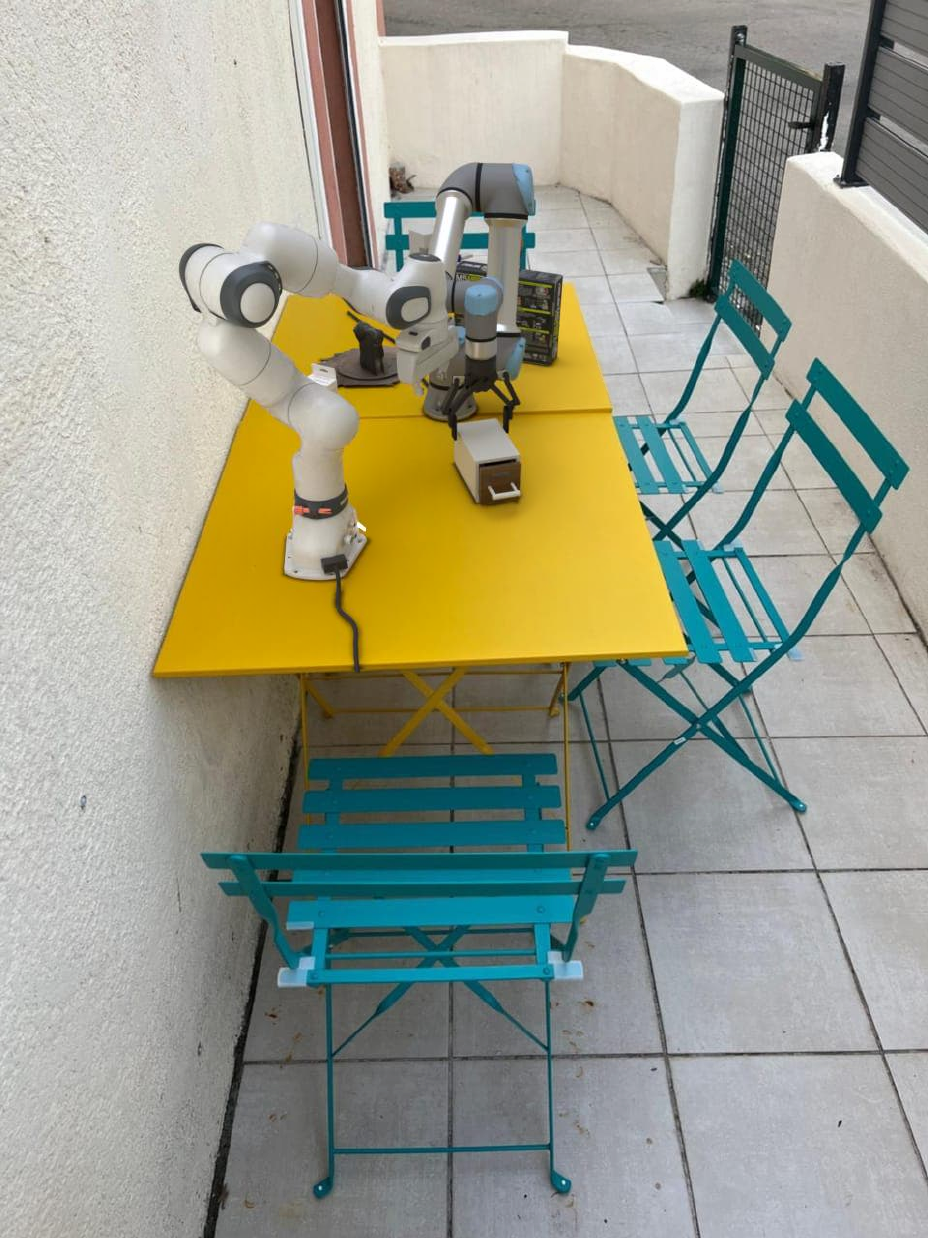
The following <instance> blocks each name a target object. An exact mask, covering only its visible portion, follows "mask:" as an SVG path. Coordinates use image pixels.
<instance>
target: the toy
mask: <svg viewBox="0 0 928 1238" xmlns="http://www.w3.org/2000/svg"><path fill="white" fill-rule="evenodd" d="M433 229H434V225H431V224H430V223H429V224H425V225H421V226H417V227H413V228H410V229H408V246H409V247H408V248H409V255H410V254H412V253H427V254H428V252H429V248H430V243H431V238H432V234H433ZM471 258H474V255H473V253H471V252H468V251H466V252H462V253H459V257H458V262H457V264H459V263H460V262H461V261H466V260H468V259H471ZM401 269H402V268H401ZM401 269H398V270H397V271H395V272H391V273H388V274H387V273H386V274H387V275H389V276H392V277H394V276H395V275H396V274H397V273H398V272H399V271H400V270H401Z"/></svg>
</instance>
